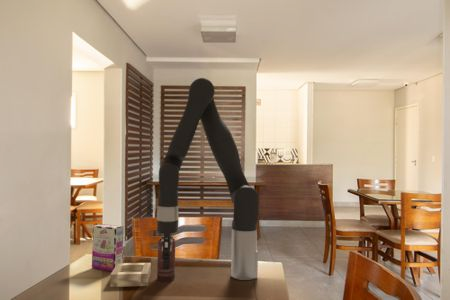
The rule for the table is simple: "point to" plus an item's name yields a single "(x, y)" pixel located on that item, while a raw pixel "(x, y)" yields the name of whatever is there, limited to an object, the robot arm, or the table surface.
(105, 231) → the candy bar box
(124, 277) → the frame
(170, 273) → the can
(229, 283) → the table surface
